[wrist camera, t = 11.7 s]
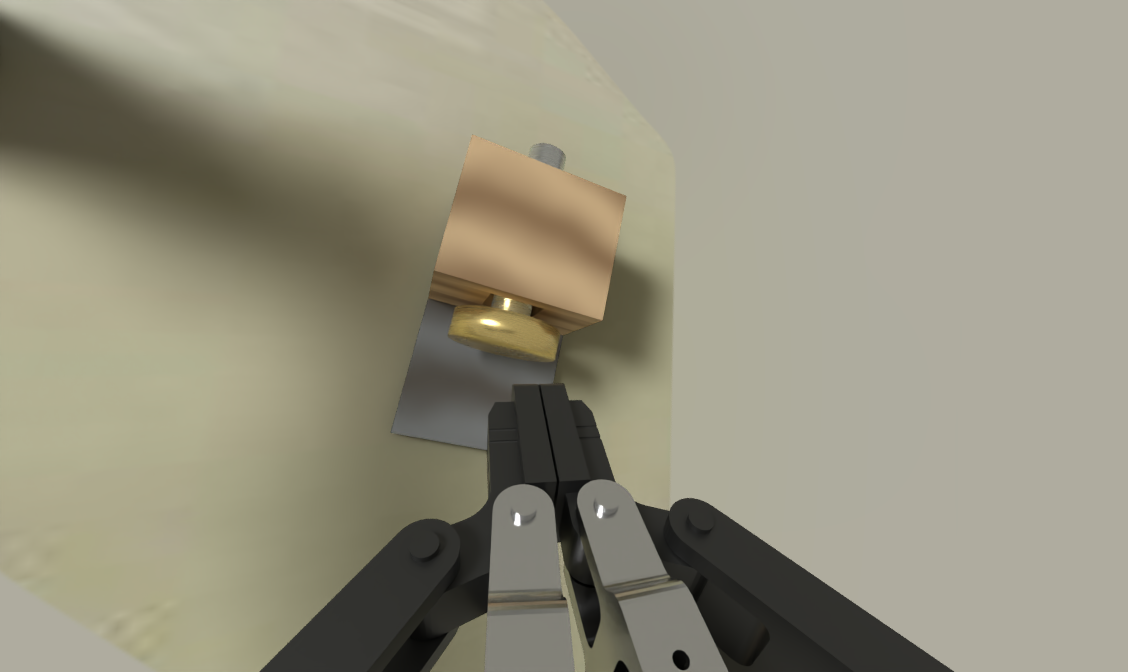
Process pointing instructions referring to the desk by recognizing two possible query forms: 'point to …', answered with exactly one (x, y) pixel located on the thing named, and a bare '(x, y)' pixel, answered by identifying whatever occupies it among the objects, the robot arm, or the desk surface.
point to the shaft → (510, 310)
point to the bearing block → (506, 284)
